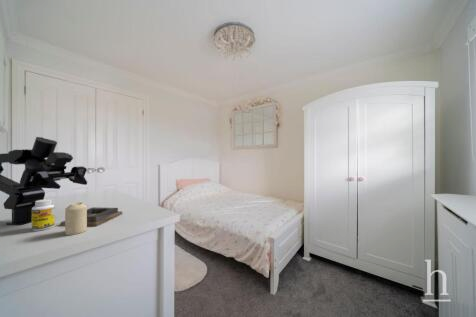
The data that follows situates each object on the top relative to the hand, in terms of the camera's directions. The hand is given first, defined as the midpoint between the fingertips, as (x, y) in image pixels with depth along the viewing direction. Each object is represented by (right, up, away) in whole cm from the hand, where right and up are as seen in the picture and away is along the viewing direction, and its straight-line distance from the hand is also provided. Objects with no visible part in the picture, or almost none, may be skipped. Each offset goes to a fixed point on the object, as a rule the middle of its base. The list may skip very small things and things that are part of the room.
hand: (74, 185), depth 65 cm
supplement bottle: (-9, -16, -2) cm, 18 cm away
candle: (+5, -16, -5) cm, 17 cm away
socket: (+1, -15, +8) cm, 17 cm away
